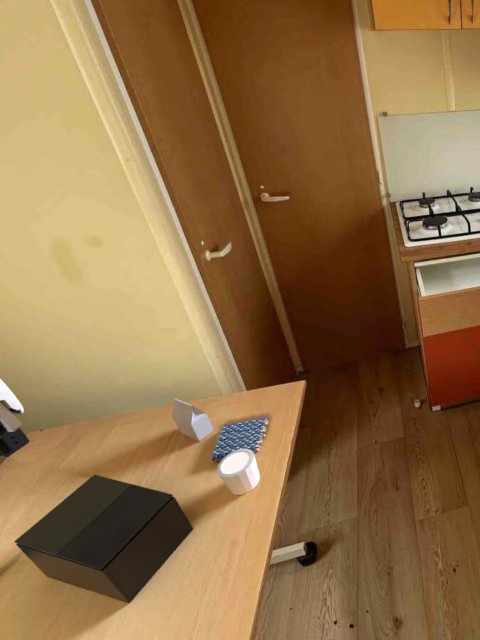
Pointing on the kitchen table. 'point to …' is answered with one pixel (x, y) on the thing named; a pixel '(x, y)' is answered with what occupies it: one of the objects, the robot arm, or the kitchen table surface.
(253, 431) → the woven mat
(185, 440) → the kitchen table surface
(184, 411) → the white gable carton
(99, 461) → the kitchen table surface
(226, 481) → the white short cylinder
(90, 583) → the black flap box
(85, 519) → the flap
